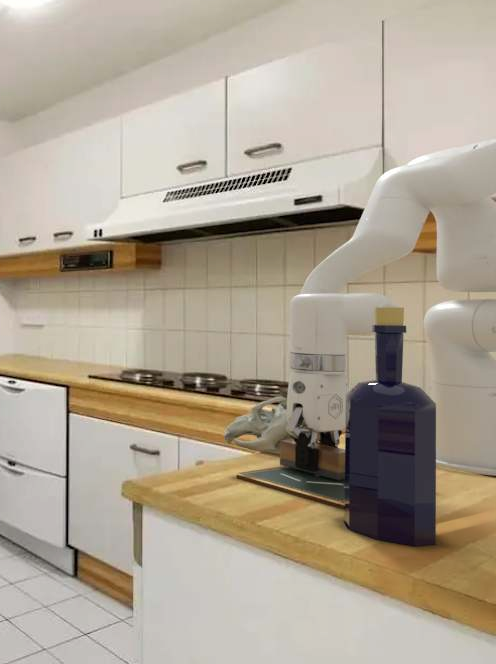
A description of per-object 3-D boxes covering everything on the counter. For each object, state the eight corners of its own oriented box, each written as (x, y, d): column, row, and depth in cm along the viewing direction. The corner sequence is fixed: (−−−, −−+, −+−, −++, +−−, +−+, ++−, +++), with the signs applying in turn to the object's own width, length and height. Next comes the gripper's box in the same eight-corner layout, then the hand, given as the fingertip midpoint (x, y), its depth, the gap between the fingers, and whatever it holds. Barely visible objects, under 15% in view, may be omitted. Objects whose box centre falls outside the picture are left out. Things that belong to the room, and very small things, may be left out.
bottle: (459, 549, 68) (461, 307, 67) (372, 543, 69) (373, 307, 69) (401, 521, 77) (402, 307, 76) (325, 516, 78) (327, 307, 78)
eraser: (295, 463, 101) (296, 438, 101) (354, 478, 92) (355, 451, 92) (279, 464, 99) (280, 440, 99) (337, 480, 91) (338, 453, 91)
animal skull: (224, 472, 116) (202, 415, 116) (241, 447, 124) (221, 394, 124) (330, 473, 102) (306, 408, 102) (342, 444, 110) (320, 385, 110)
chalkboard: (317, 466, 104) (317, 460, 104) (429, 493, 89) (429, 486, 89) (236, 478, 96) (236, 472, 96) (344, 510, 81) (344, 502, 81)
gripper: (309, 367, 89) (308, 479, 89) (373, 364, 95) (372, 469, 95) (261, 363, 96) (261, 467, 96) (323, 360, 102) (322, 458, 102)
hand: (316, 467), depth 96 cm, fingers closed on eraser, 4 cm apart
